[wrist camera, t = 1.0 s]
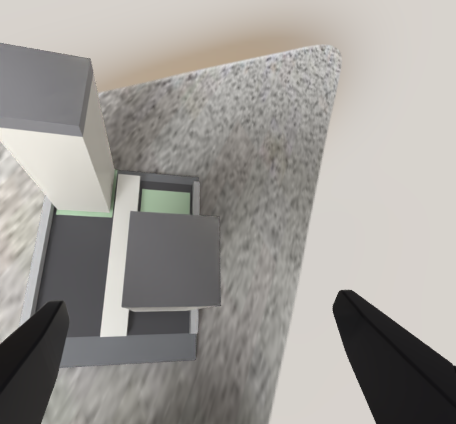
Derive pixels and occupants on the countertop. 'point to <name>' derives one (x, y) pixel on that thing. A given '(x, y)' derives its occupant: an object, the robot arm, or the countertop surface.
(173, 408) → the countertop surface
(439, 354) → the robot arm
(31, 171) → the tab
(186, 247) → the tab
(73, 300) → the switch board
